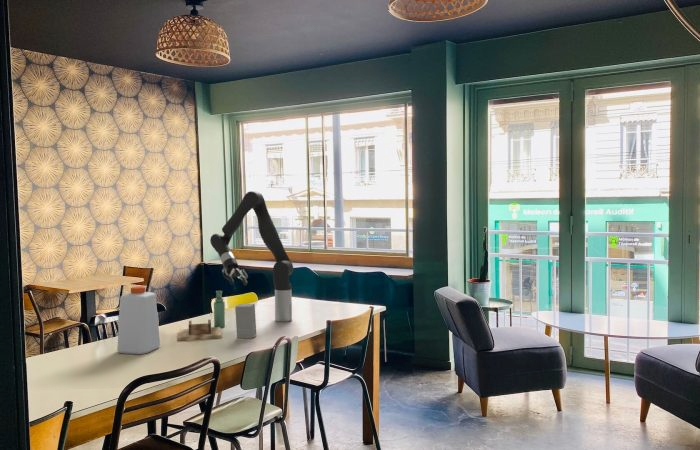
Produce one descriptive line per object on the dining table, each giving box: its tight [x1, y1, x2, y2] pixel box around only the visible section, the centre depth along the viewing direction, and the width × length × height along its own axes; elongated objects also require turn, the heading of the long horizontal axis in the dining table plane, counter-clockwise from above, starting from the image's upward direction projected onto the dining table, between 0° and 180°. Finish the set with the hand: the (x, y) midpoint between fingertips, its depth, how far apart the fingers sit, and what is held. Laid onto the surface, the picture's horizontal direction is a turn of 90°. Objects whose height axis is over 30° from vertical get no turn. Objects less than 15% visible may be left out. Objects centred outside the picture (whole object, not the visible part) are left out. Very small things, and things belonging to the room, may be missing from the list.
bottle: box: [213, 290, 226, 329], centre depth 285 cm, size 6×6×19 cm
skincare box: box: [234, 303, 257, 339], centre depth 264 cm, size 8×7×16 cm
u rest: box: [177, 319, 223, 342], centre depth 268 cm, size 20×18×6 cm
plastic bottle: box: [116, 285, 161, 355], centre depth 241 cm, size 15×15×28 cm
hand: (239, 284), depth 291 cm, fingers open, 8 cm apart
